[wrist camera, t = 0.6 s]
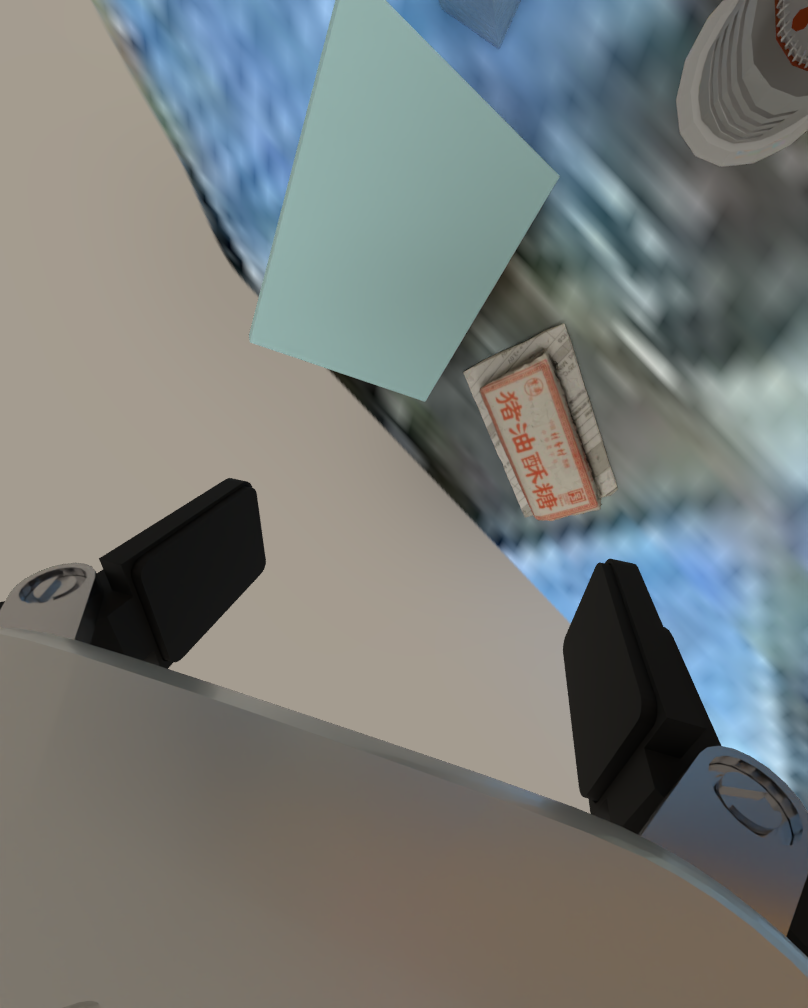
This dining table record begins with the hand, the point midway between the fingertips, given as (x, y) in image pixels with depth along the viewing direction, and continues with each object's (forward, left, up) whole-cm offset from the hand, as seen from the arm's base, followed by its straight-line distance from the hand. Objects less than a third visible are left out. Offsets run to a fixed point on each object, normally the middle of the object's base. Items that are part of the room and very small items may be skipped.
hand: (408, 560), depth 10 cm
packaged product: (+3, +7, -33) cm, 34 cm away
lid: (-4, -10, -20) cm, 22 cm away
